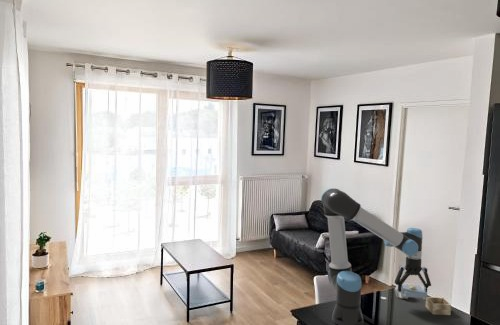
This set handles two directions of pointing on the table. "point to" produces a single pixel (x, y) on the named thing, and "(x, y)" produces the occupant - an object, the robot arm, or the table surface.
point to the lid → (414, 291)
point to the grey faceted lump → (399, 292)
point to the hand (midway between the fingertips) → (412, 297)
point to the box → (438, 306)
